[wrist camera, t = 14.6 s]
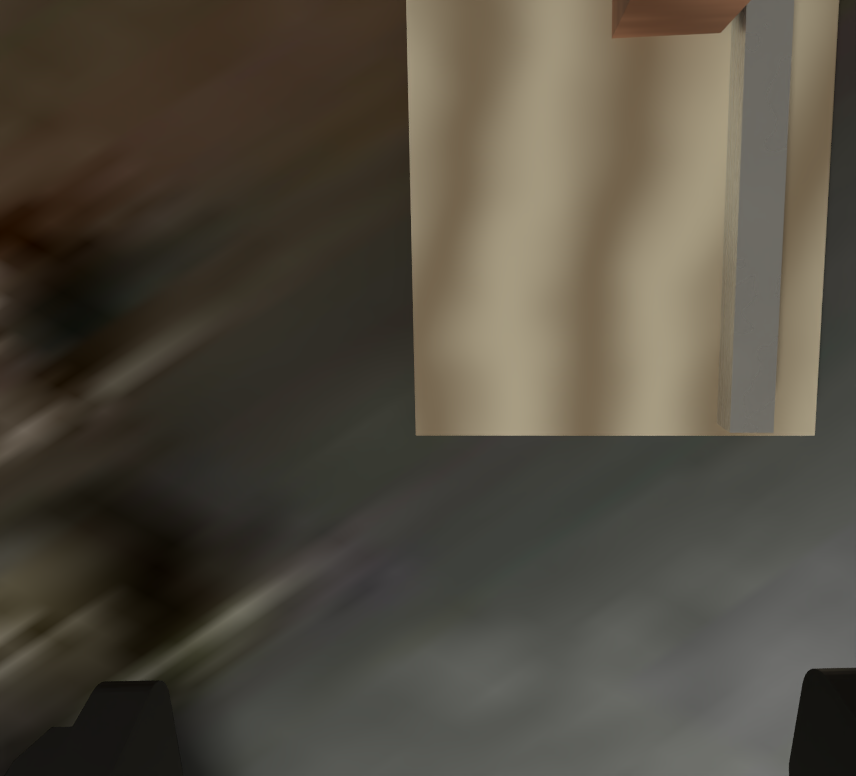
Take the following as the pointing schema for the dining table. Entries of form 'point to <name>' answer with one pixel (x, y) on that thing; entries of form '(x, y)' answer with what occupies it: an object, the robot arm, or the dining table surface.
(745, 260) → the rail
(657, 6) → the brown squarish block
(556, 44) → the board
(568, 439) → the dining table surface
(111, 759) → the robot arm
